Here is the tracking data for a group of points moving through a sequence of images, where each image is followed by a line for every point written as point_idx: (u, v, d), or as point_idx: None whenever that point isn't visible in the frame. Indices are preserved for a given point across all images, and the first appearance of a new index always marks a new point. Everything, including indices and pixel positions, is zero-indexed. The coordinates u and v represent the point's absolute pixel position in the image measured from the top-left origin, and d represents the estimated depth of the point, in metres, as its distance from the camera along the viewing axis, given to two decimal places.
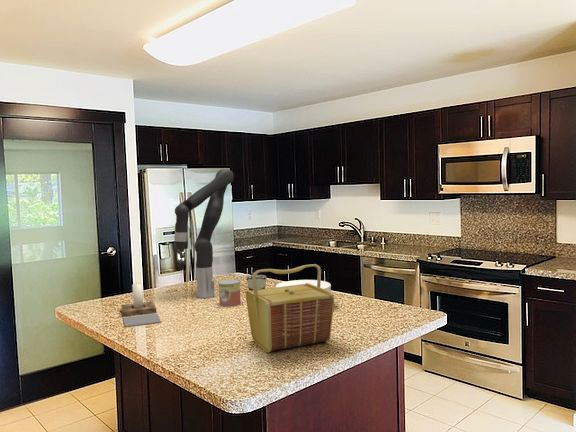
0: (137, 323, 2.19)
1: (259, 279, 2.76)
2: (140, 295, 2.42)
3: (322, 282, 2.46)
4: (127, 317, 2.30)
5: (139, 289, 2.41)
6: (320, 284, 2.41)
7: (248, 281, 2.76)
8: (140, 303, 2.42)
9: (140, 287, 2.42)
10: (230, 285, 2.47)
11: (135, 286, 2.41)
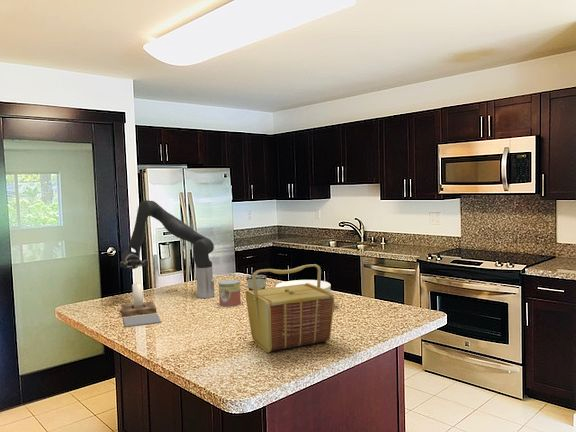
0: (137, 323, 2.19)
1: (259, 279, 2.76)
2: (140, 295, 2.42)
3: (322, 282, 2.45)
4: (127, 317, 2.30)
5: (139, 289, 2.41)
6: (320, 284, 2.41)
7: (248, 281, 2.76)
8: (140, 303, 2.42)
9: (140, 287, 2.42)
10: (230, 285, 2.47)
11: (135, 286, 2.41)
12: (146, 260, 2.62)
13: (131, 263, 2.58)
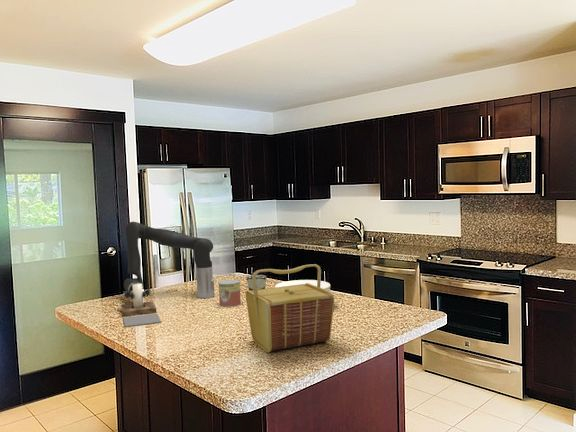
0: (137, 323, 2.19)
1: (259, 279, 2.76)
2: (140, 295, 2.42)
3: (321, 282, 2.45)
4: (127, 317, 2.30)
5: (139, 289, 2.41)
6: None
7: (248, 281, 2.76)
8: (140, 303, 2.42)
9: (140, 287, 2.42)
10: (230, 285, 2.47)
11: (135, 286, 2.41)
12: (148, 289, 2.49)
13: None
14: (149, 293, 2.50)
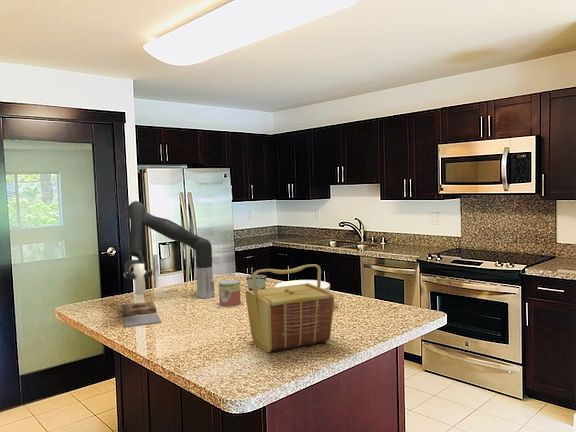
0: (137, 323, 2.19)
1: (259, 279, 2.76)
2: (142, 276, 2.23)
3: (321, 282, 2.45)
4: (127, 317, 2.30)
5: (141, 269, 2.22)
6: None
7: (248, 281, 2.76)
8: (142, 285, 2.23)
9: (142, 267, 2.23)
10: (230, 285, 2.47)
11: (136, 266, 2.22)
12: (150, 270, 2.30)
13: None
14: (151, 274, 2.31)
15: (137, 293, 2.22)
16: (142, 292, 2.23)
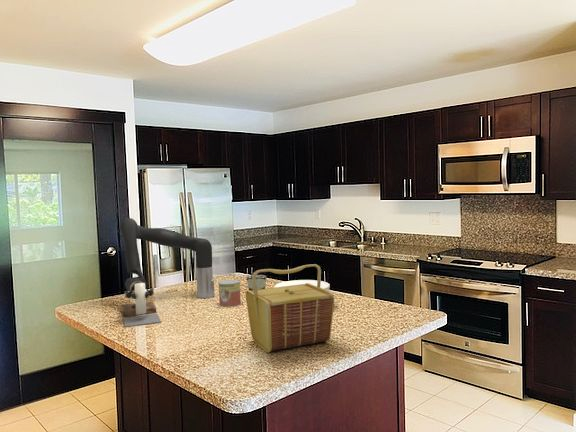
0: (137, 323, 2.19)
1: (259, 279, 2.76)
2: (143, 295, 2.23)
3: (321, 282, 2.45)
4: (127, 317, 2.30)
5: (141, 288, 2.23)
6: None
7: (248, 281, 2.76)
8: (143, 304, 2.23)
9: (143, 287, 2.23)
10: (230, 285, 2.47)
11: (137, 286, 2.22)
12: (151, 289, 2.30)
13: None
14: (152, 293, 2.31)
15: (138, 312, 2.23)
16: (143, 311, 2.23)
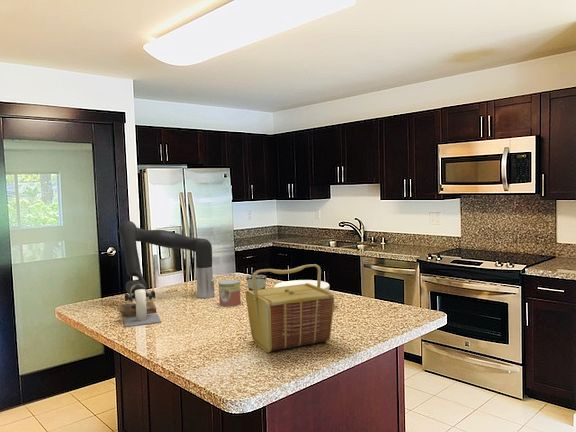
0: (137, 323, 2.19)
1: (259, 279, 2.76)
2: (143, 302, 2.23)
3: (321, 282, 2.45)
4: (127, 317, 2.30)
5: (142, 295, 2.22)
6: None
7: (248, 281, 2.76)
8: (143, 311, 2.23)
9: (143, 294, 2.23)
10: (230, 285, 2.47)
11: (138, 293, 2.21)
12: (153, 291, 2.32)
13: None
14: None
15: (138, 319, 2.23)
16: (143, 318, 2.24)
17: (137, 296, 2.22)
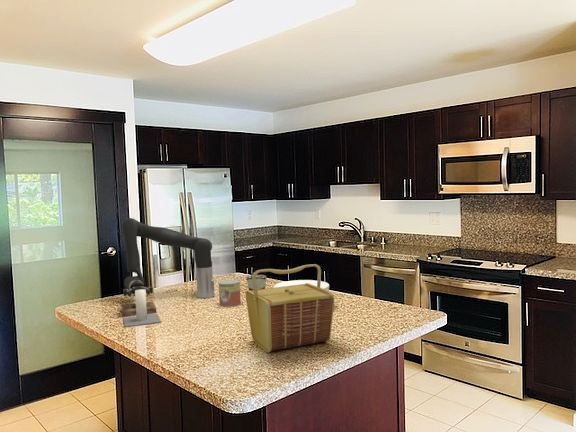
0: (137, 323, 2.19)
1: (259, 279, 2.76)
2: (143, 302, 2.23)
3: None
4: (127, 317, 2.30)
5: (142, 295, 2.23)
6: None
7: (248, 281, 2.76)
8: (143, 311, 2.24)
9: (143, 293, 2.23)
10: (230, 285, 2.47)
11: (138, 292, 2.22)
12: (151, 287, 2.43)
13: None
14: None
15: (139, 319, 2.23)
16: (143, 318, 2.24)
17: (137, 296, 2.23)
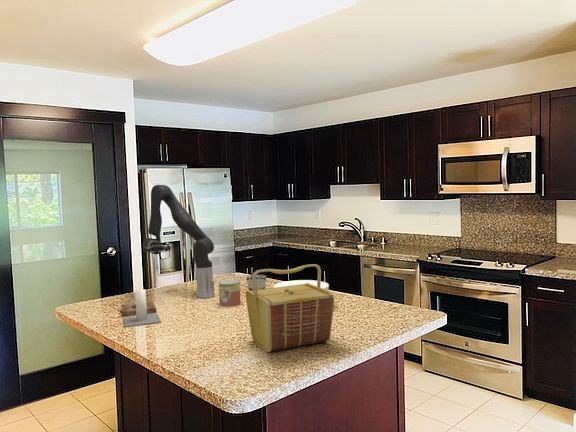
0: (137, 323, 2.19)
1: (259, 279, 2.76)
2: (143, 302, 2.24)
3: None
4: (127, 317, 2.30)
5: (142, 295, 2.23)
6: None
7: (248, 281, 2.76)
8: (143, 311, 2.24)
9: (143, 293, 2.24)
10: (230, 285, 2.47)
11: (138, 292, 2.22)
12: (169, 245, 2.61)
13: (154, 248, 2.58)
14: None
15: (139, 319, 2.23)
16: (143, 318, 2.24)
17: (137, 296, 2.23)
